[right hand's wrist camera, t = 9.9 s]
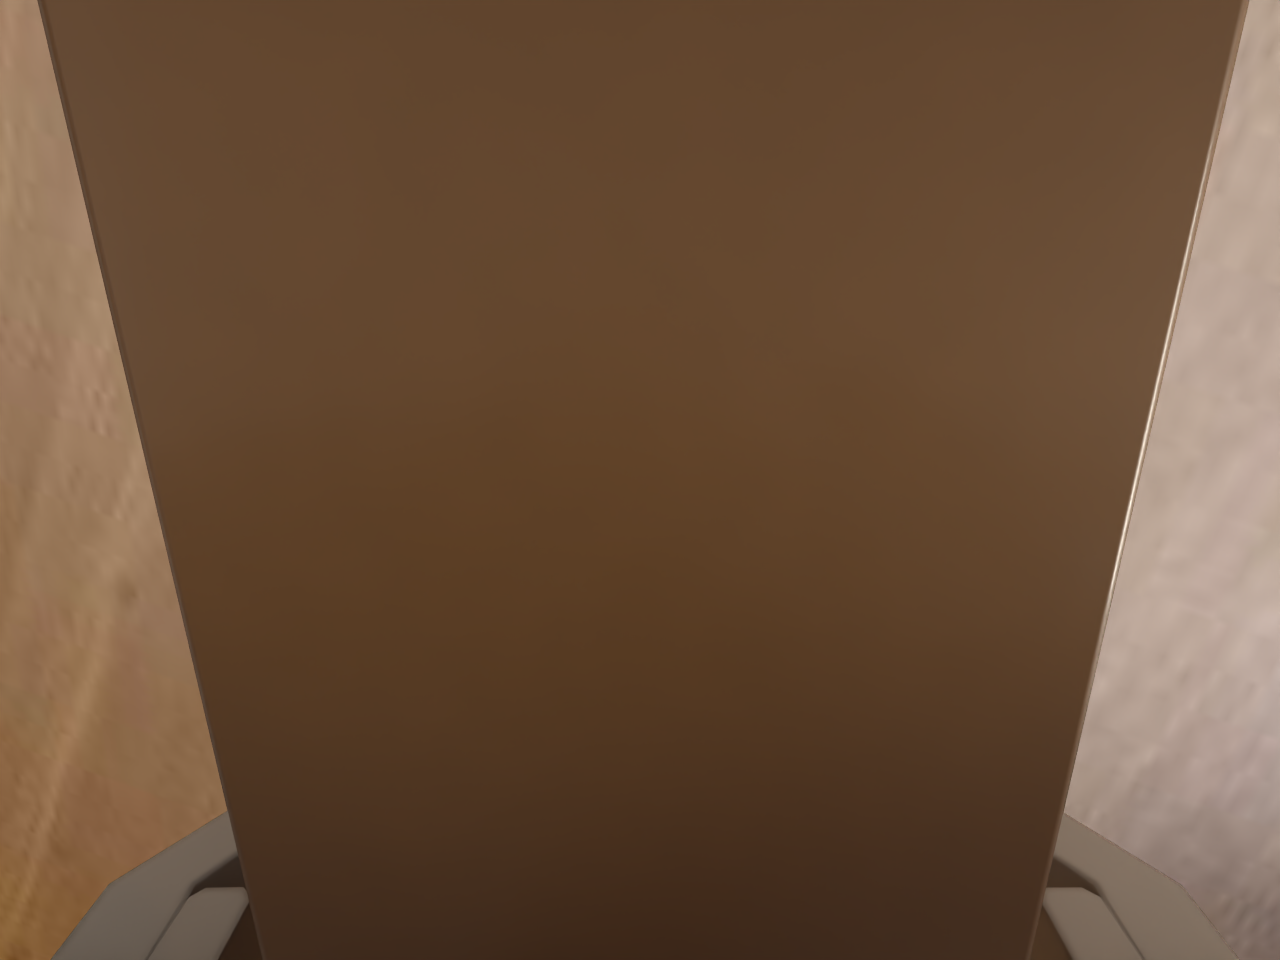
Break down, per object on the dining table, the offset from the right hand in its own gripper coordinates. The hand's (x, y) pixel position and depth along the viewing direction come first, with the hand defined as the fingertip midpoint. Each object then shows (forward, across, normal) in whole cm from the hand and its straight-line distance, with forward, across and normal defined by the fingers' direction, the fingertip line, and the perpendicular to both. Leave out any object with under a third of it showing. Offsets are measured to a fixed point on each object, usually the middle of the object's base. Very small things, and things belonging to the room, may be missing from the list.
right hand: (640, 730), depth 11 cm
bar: (+4, 0, -10) cm, 10 cm away
